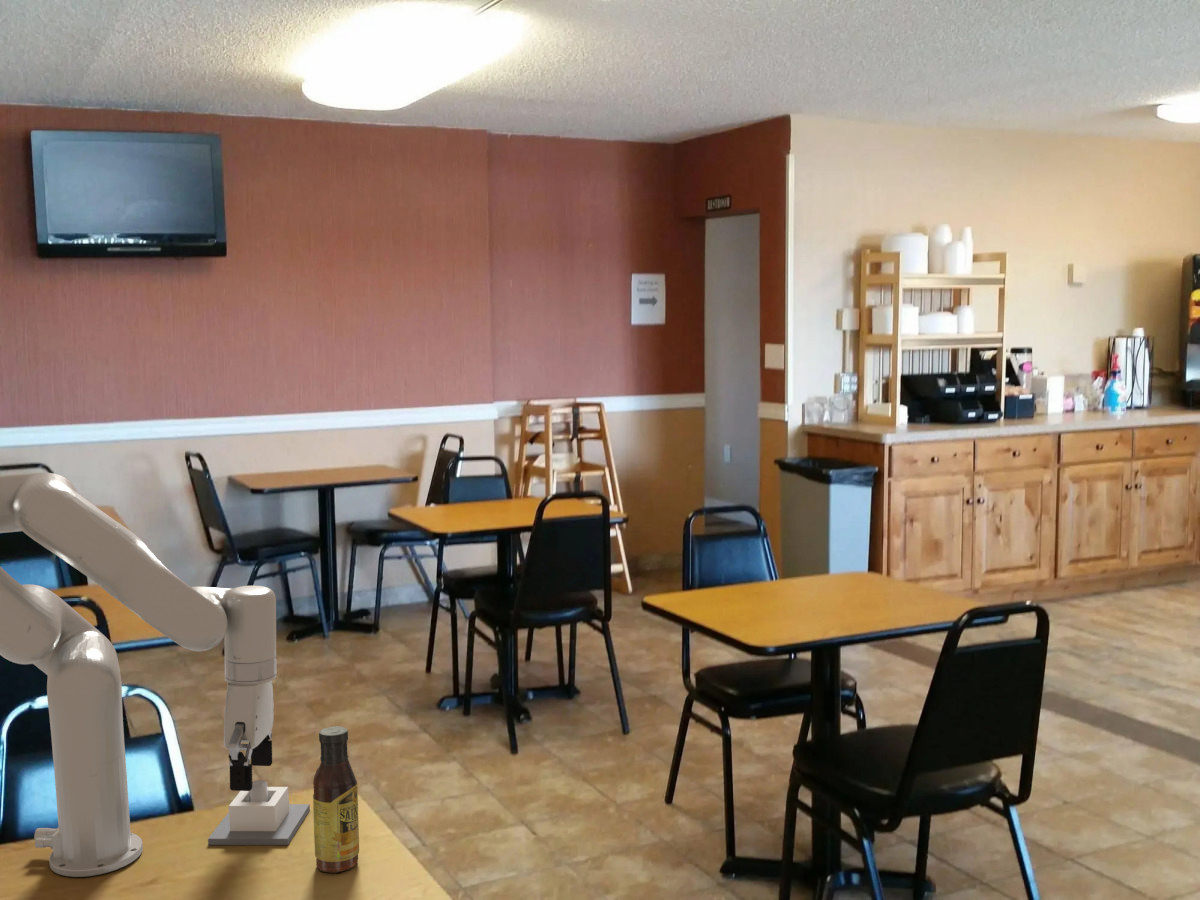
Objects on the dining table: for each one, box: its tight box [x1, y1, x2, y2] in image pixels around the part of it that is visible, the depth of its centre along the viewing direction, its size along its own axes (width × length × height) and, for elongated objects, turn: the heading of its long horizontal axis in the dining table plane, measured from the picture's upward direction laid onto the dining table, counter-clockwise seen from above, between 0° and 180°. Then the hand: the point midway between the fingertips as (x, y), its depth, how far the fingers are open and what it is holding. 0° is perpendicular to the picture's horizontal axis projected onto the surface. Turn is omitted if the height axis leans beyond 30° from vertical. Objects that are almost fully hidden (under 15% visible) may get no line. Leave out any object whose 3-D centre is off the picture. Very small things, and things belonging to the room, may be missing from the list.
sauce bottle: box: [312, 725, 360, 874], centre depth 169 cm, size 7×6×20 cm
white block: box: [228, 786, 290, 831], centre depth 182 cm, size 7×7×4 cm
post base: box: [207, 779, 311, 846], centre depth 182 cm, size 12×12×7 cm
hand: (251, 777), depth 181 cm, fingers open, 9 cm apart
